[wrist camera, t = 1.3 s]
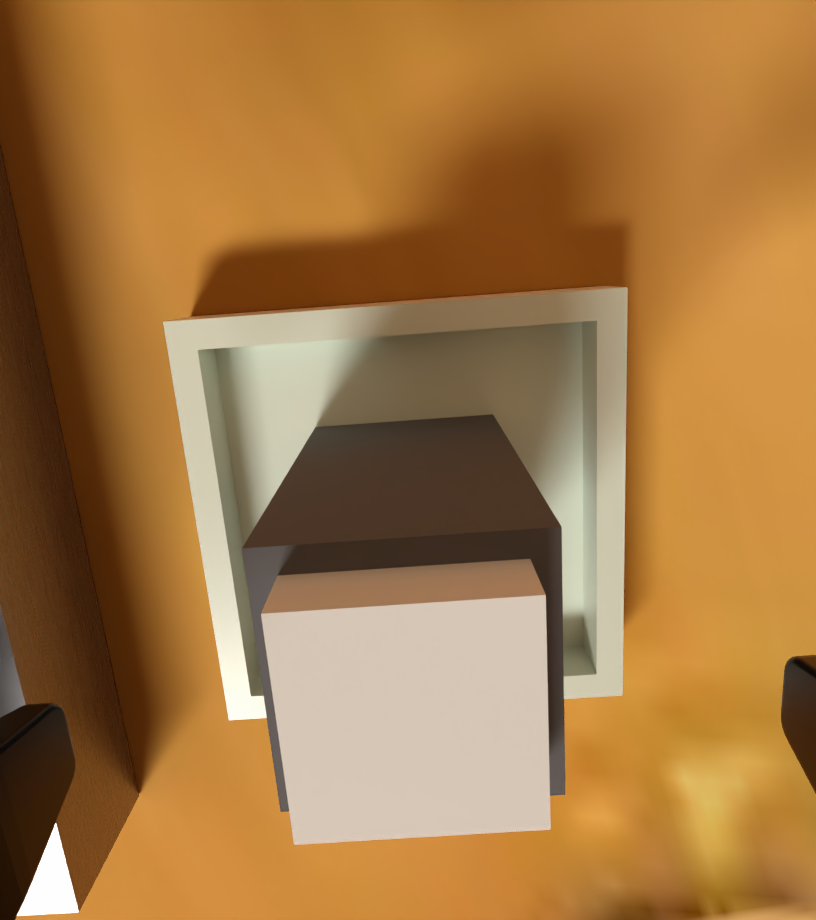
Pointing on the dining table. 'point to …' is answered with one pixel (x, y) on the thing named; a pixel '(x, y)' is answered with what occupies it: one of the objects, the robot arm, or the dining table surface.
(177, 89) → the dining table surface
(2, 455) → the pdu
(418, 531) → the plug
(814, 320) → the dining table surface
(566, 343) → the tray
